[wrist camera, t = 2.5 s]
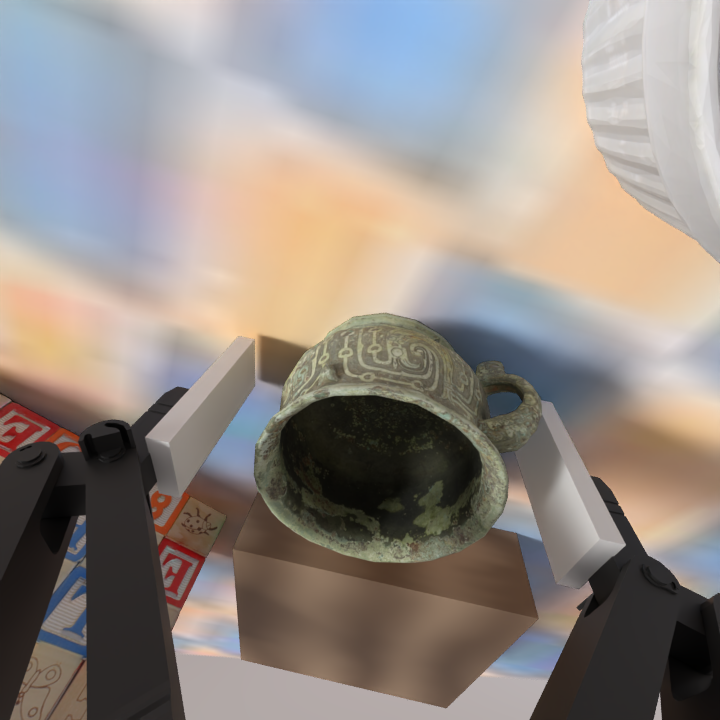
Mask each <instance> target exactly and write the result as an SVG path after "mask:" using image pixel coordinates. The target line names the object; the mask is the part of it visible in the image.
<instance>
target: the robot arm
mask: <svg viewBox="0 0 720 720" xmlns="http://www.w3.org/2000/svg"><path fill="white" fill-rule="evenodd" d="M254 387H255V339H251V338H246V337H242V336H238V337H237V338H236V339H235V341H234V342H233V343H232V344H231V345H230V346H229V347H228V348H227V349H226V350H225V351H224V352H223V353H222V355H221V356H220V357H219V358H218V359H217V360H216V361H215V362H214V363H213V364H212V365H211V366H210V368H209V369H208V370H207V371H206V372H205V373H204V374H203V375H202V376H201V377H200V378H199V379H198V380H197V382H196V383H195V384H194V385H193V386H192V387H191V388H190V389H186V388H182V387H176V388H174V389H172V390H170V391H168V392H166V393H165V394H164V395H162V396H161V397H160V398H159V399H158V400H157V401H156V403H155V404H153V405H152V406H151V407H150V408H149V409H148V412H147V411H146V412H145V413H144V414H143V415H142V416H141V417H140V418H139V419H138V420H137V421H136V422H135V423H134V424H133V425H132V426H131V427H130V426H129V424H128V423H126V422H124V421H120V420H107V421H102V422H99V423H96V424H94V425H92V426H91V427H89V428H87V429H86V430H85V431H84V432H83V433H82V434H81V435H80V437H79V440H78V443H79V446H80V448H81V451H82V452H64V453H61V451H60V449H59V448H58V446H57V445H56V444H54V443H52V442H42V441H40V442H35V443H30V444H27V445H24V446H22V447H20V448H17V449H16V450H14V451H13V452H11V453H10V454H8V456H7V457H6V458H5V459H4V460H3V461H2V463H1V464H0V720H10V718H11V715H12V712H13V709H14V706H15V703H16V700H17V697H18V694H19V691H20V688H21V685H22V683H23V680H24V677H25V674H26V671H27V668H28V665H29V662H30V659H31V656H32V653H33V650H34V647H35V644H36V641H37V638H38V635H39V632H40V629H41V626H42V623H43V621H44V618H45V615H46V612H47V609H48V606H49V603H50V600H51V597H52V594H53V591H54V588H55V585H56V582H57V579H58V576H59V573H60V570H61V567H62V564H63V561H64V559H65V556H66V553H67V550H68V547H69V544H70V541H71V538H72V535H73V532H74V529H75V526H76V523H77V520H78V517H79V516H83V515H86V653H87V720H186V719H185V713H184V707H183V701H182V695H181V689H180V683H179V676H178V669H177V663H176V657H175V651H174V644H173V638H172V632H171V626H170V619H169V613H168V607H167V600H166V594H165V588H164V582H163V575H162V569H161V563H160V557H159V550H158V544H157V538H156V532H155V525H154V519H153V513H152V506H151V500H150V495H149V492H150V490H151V489H152V488H153V487H154V485H155V484H156V483H157V487H158V491H159V493H160V494H165V495H169V496H174V497H178V498H180V497H181V496H182V494H183V493H184V491H185V490H186V488H187V487H188V485H189V484H190V482H191V481H192V479H193V478H194V476H195V475H196V473H197V472H198V470H199V469H200V467H201V466H202V464H203V463H204V461H205V460H206V459H207V457H208V456H209V454H210V453H211V451H212V450H213V448H214V447H215V445H216V444H217V442H218V441H219V439H220V438H221V436H222V435H223V433H224V432H225V430H226V429H227V427H228V426H229V424H230V423H231V421H232V420H233V418H234V417H235V415H236V414H237V412H238V411H239V409H240V408H241V406H242V405H243V403H244V402H245V400H246V399H247V397H248V396H249V394H250V393H251V391H252V390H253V388H254ZM541 404H542V415H541V418H540V421H539V424H538V428H537V431H536V432H535V433H534V434H533V435H532V436H531V437H530V439H529V440H528V442H527V443H526V444H525V445H524V446H523V447H521V448H520V449H519V450H517V451H514V452H515V455H516V458H517V461H518V465H519V468H520V471H521V474H522V477H523V480H524V484H525V487H526V490H527V493H528V496H529V499H530V503H531V506H532V509H533V512H534V515H535V518H536V522H537V525H538V528H539V531H540V534H541V537H542V541H543V544H544V547H545V550H546V553H547V557H548V560H549V563H550V566H551V569H552V572H553V576H554V579H555V582H556V584H558V585H562V586H567V587H571V588H576V589H580V588H581V587H582V586H583V585H584V584H585V583H586V582H587V581H588V580H589V583H590V585H591V588H592V590H593V593H592V594H591V595H590V596H589V597H588V598H586V599H585V600H584V601H583V602H582V603H581V604H580V605H579V606H578V607H577V609H578V610H579V611H580V610H581V609H582V608H583V609H582V611H581V613H580V615H579V617H578V619H577V622H576V624H575V626H574V628H573V630H572V632H571V634H570V636H569V638H568V640H567V642H566V645H565V647H564V649H563V651H562V653H561V655H560V657H559V659H558V661H557V663H556V665H555V668H554V670H553V672H552V674H551V676H550V678H549V680H548V682H547V684H546V686H545V689H544V691H543V693H542V695H541V697H540V699H539V701H538V703H537V705H536V707H535V709H534V712H533V714H532V716H531V718H530V720H653V719H654V715H655V710H656V706H657V702H658V697H659V693H660V697H661V712H662V720H720V593H718V594H716V595H715V596H713V597H712V598H710V599H707V598H705V597H703V596H701V595H699V594H697V593H695V592H693V591H691V590H689V589H687V588H685V587H683V586H681V585H680V584H679V582H678V580H677V579H676V578H675V576H674V575H673V574H672V573H671V572H670V570H668V569H667V568H666V567H665V566H664V565H663V564H661V563H660V562H659V561H657V560H655V559H653V558H652V557H649V556H648V555H647V553H646V552H645V550H644V548H643V546H642V544H641V543H640V541H639V539H638V537H637V535H636V534H635V532H634V530H633V528H632V527H631V525H630V523H629V521H628V519H627V518H626V517H625V516H624V512H623V510H622V509H621V507H620V506H618V504H619V503H618V502H617V500H616V498H615V496H614V494H613V493H612V491H611V490H610V489H609V487H608V486H607V485H606V484H605V483H604V482H603V481H602V480H601V479H600V478H598V477H593V476H590V475H589V473H588V471H587V469H586V467H585V465H584V463H583V461H582V459H581V457H580V455H579V453H578V452H577V450H576V448H575V446H574V444H573V442H572V440H571V438H570V436H569V434H568V432H567V430H566V429H565V427H564V425H563V423H562V421H561V419H560V417H559V415H558V413H557V411H556V409H555V407H554V405H553V404H552V402H547V401H543V400H541Z"/></svg>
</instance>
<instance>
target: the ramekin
mask: <svg viewBox="0 0 720 720" xmlns="http://www.w3.org/2000/svg"><path fill="white" fill-rule="evenodd" d="M583 39H584V43H583V52H582V60H581V64H582V72H583V91H582V95H583V98H584V101H585V104H586V114H587V121H588V124H589V126H590V127H591V129H592V131H593V135H594V141H595V145H596V147H597V149H598V150H599V151H600V152H601V153H602V155H603V157H604V159H605V163H606V166H607V168H608V170H609V172H610V173H612V174H613V175H614V176H615V177H616V178H617V179H618V181H619V183H620V185H621V187H622V188H623V189H624V190H625V191H626V192H627V193H628V194H629V195H631V196H632V197H634V198H635V199H637V201H638V202H639V204H641V205H642V206H643V207H644V208H645V209H646V210H648V211H649V212H651V213H652V214H654V215H655V216H657V217H658V218H660V219H662V220H663V221H665V222H666V223H668V224H670V225H671V226H673V227H675V228H676V229H678V230H680V231H682V232H683V233H685V234H686V235H688V236H689V237H691V238H693V239H694V240H696V241H697V242H698V243H699V244H700V245H701V246H702V247H703V248H704V249H705V250H706V251H707V252H708V253H709V254H710V255H711V256H712V257H713V258H714V259H715V260H716V261H717V262H719V263H720V0H589V6H588V10H587V13H586V16H585V19H584V23H583Z"/></svg>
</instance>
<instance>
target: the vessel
mask: <svg viewBox="0 0 720 720" xmlns="http://www.w3.org/2000/svg"><path fill="white" fill-rule="evenodd" d="M500 392H512V393H516V394H518V396H519V397H520V398H521V400H522V403H521V404H520V405H519V407H518V408H517V409H516V410H515V411H513V412H511V413H509V414H504V415H499V416H496V417H494V418H490V410H489V406H488V402H487V397H488V395H491V394H495V393H500ZM541 415H542V404H541V398H540V396H539V395H538V393H537V392H536V391H535V389H534V388H533V386H532V385H531V384H530V383H528V382H527V381H526V380H525V379H524V378H521V377H519V376H517V375H514V374H506V373H505V371H504V366H503V365H502V363H501V362H499V361H495V360H494V361H486V362H482V363H479V364H478V365H477V367H476V374H475V373H474V371H473V370H472V369H471V367H470V366H469V365H468V364H467V363H466V362H465V361H464V360H463V359H462V358H461V357H460V356H459V355H458V354H457V353H456V352H455V350H454V349H453V347H452V346H451V345H450V344H449V343H448V342H447V341H446V340H445V339H444V338H443V337H442V336H441V335H440V334H438V333H436V332H435V331H433V330H431V329H430V328H428V327H426V326H425V325H423V324H421V323H419V322H418V321H416V320H413V319H409V318H405V317H400V316H396V315H392V314H388V313H379V314H372V315H364V316H356V317H352V318H351V319H349V320H347V321H346V322H344V323H343V324H341V325H340V326H338V327H336V328H335V329H333V330H332V331H330V332H329V333H328V334H327V336H326V337H325V339H324V340H323V341H321V342H320V343H318V344H317V345H315V346H314V347H312V348H310V349H309V350H307V351H306V352H305V353H304V354H303V356H302V357H301V358H300V360H299V361H298V363H297V364H296V366H295V368H294V369H293V371H292V372H291V374H290V376H289V377H288V379H287V380H286V382H285V385H284V387H283V391H282V398H281V406H280V412H278V413H277V414H275V415H274V416H273V417H272V418H271V419H270V421H269V423H268V424H267V426H266V428H265V429H264V431H263V433H262V434H261V436H260V438H259V439H258V441H257V443H256V445H255V462H254V477H255V480H256V485H257V490H258V491H259V492H260V494H261V495H262V497H263V499H264V501H265V503H266V504H267V506H268V507H269V509H270V510H271V512H272V513H273V514H274V515H275V516H276V517H277V518H278V519H279V520H280V521H281V522H282V523H283V524H285V525H286V526H287V527H289V528H290V529H291V530H292V531H294V532H295V533H297V534H299V535H300V536H302V537H304V538H305V539H307V540H309V541H311V542H313V543H316V544H318V545H321V546H323V547H326V548H328V549H331V550H333V551H335V552H338V553H340V554H343V555H347V556H351V557H355V558H360V559H364V560H368V561H372V562H393V563H416V562H425V561H432V560H435V559H438V558H441V557H445V556H448V555H451V554H454V553H457V552H460V551H462V550H463V549H465V548H467V547H468V546H470V545H472V544H473V543H475V542H476V541H478V540H480V539H481V538H483V537H484V536H485V535H486V534H487V532H488V531H489V530H490V528H491V527H492V526H493V525H494V523H495V522H496V521H497V519H498V518H499V517H500V515H501V514H502V513H503V510H504V507H505V504H506V501H507V498H508V481H509V480H508V476H507V471H506V467H505V464H504V462H503V460H502V458H501V456H500V453H505V452H512V451H517V450H519V449H520V448H521V447H523V446H524V445H525V444H526V443H527V442H528V440H529V439H530V437H531V436H532V435H533V434H534V433H535V432H536V431H537V428H538V424H539V421H540V418H541Z"/></svg>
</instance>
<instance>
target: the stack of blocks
mask: <svg viewBox="0 0 720 720" xmlns="http://www.w3.org/2000/svg"><path fill="white" fill-rule="evenodd" d="M78 440H79V436H77V435H75V434H74V433H72V432H70V431H68V430H66V429H64V428H61V427H59V426H58V425H56V424H55V423H53V422H51V421H49V420H47V419H45V418H43V417H42V416H40V415H38V414H36V413H34V412H32V411H30V410H28V409H27V408H25V407H23V406H21V405H19V404H17V403H14V402H12V401H11V399H9V398H7V397H5V396H3V395H1V394H0V464H1V463H2V461H3V460H4V459H5V458H6V457H7V456H8V454H10V453H11V452H13V451H14V450H16V449H17V448H20V447H22V446H24V445H27V444H30V443H35V442H40V441H42V442H52V443H54V444H56V445H57V446H58V448H59V449H60V451H61V453H64V452H82V451H81V448H80V446H79V443H78ZM149 495H150V500H151V506H152V513H153V519H154V525H155V532H156V538H157V544H158V550H159V557H160V563H161V569H162V575H163V582H164V588H165V594H166V600H167V607H168V613H169V619H170V626H171V631H172V629H173V627H174V625H175V623H176V621H177V618H178V616H179V613H180V611H181V609H182V607H183V605H184V603H185V601H186V599H187V597H188V595H189V593H190V591H191V589H192V587H193V584H194V582H195V580H196V578H197V576H198V574H199V572H200V570H201V568H202V566H203V564H204V562H205V558H206V557H207V556H208V554H209V552H210V550H211V548H212V546H213V544H214V542H215V540H216V538H217V536H218V534H219V532H220V530H221V528H222V526H223V524H224V522H225V520H226V518H227V516H225V515H223V514H222V513H220V512H218V511H216V510H214V509H212V508H211V507H209V506H207V505H205V504H203V503H202V502H200V501H198V500H196V499H194V498H192V497H190V495H188V494H187V493H185V492H184V493H183V494H182V496H181V497H180V498H178V497H174V496H169V495H165V494H160V493H159V491H158V487H157V483H156V484H155V485H154V487H153V488H152V489H151V490H150V492H149ZM10 720H87V653H86V515H83V516H79V517H78V520H77V523H76V526H75V529H74V532H73V535H72V538H71V541H70V544H69V547H68V550H67V553H66V556H65V559H64V561H63V564H62V567H61V570H60V573H59V576H58V579H57V582H56V585H55V588H54V591H53V594H52V597H51V600H50V603H49V606H48V609H47V612H46V615H45V618H44V621H43V623H42V626H41V629H40V632H39V635H38V638H37V641H36V644H35V647H34V650H33V653H32V656H31V659H30V662H29V665H28V668H27V671H26V674H25V677H24V680H23V683H22V685H21V688H20V691H19V694H18V697H17V700H16V703H15V706H14V709H13V712H12V715H11V718H10Z"/></svg>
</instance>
